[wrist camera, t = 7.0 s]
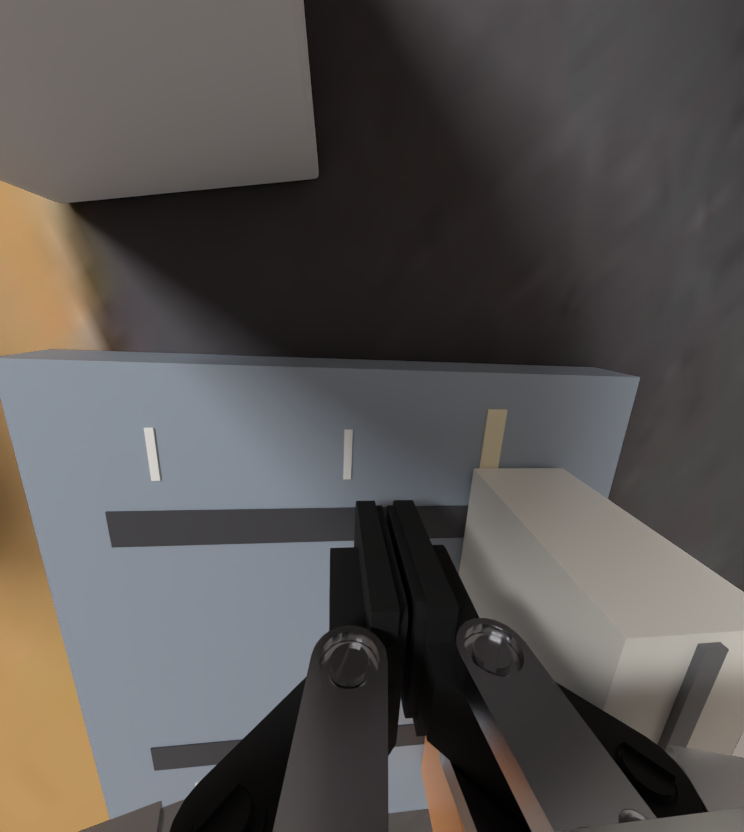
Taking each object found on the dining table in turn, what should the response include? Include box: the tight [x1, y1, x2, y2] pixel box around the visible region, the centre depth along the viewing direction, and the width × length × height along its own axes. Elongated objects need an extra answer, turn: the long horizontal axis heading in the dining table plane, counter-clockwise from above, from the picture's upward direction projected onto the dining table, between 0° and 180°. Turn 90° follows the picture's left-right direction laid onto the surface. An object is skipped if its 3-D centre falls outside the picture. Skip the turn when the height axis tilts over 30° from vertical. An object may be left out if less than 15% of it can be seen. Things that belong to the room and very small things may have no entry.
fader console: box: [0, 349, 640, 820], centre depth 14 cm, size 20×18×2 cm
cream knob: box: [459, 468, 744, 756], centre depth 9 cm, size 4×3×6 cm
